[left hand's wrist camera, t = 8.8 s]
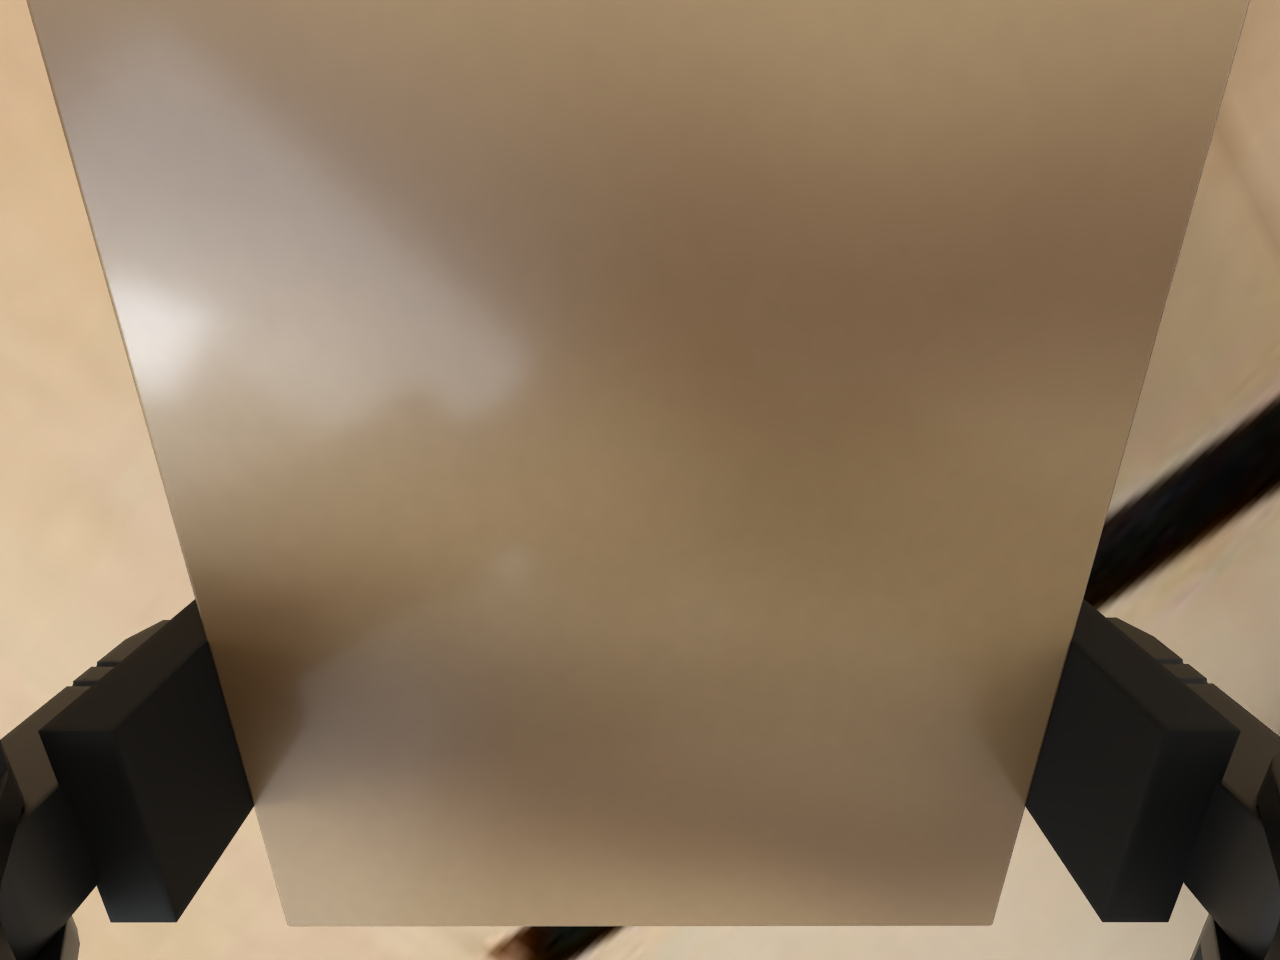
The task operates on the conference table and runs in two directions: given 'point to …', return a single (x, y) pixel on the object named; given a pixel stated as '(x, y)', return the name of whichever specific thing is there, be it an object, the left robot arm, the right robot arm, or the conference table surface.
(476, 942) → the conference table surface
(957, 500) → the cabinet
